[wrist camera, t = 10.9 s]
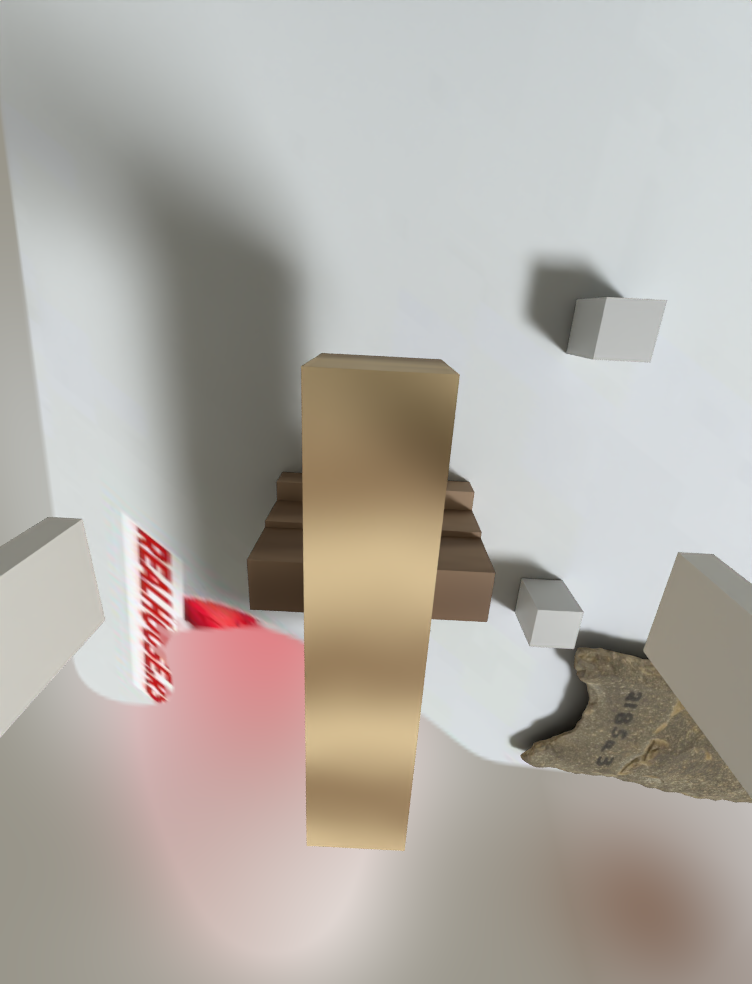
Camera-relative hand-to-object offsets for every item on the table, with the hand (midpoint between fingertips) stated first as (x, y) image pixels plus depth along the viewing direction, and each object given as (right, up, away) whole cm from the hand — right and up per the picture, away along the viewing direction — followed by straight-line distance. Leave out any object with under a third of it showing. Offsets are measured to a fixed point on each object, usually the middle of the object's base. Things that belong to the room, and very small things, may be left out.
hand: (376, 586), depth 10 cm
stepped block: (0, +1, +15) cm, 15 cm away
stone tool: (+23, -13, +21) cm, 34 cm away
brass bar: (0, -2, +8) cm, 9 cm away
